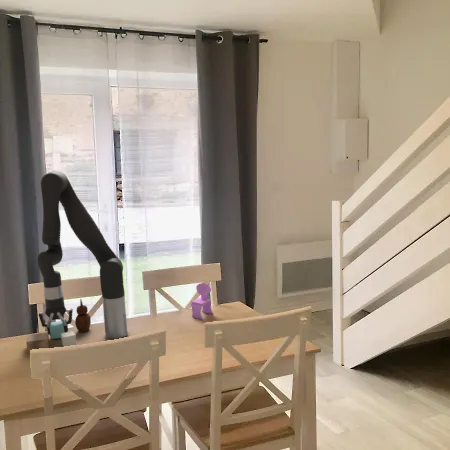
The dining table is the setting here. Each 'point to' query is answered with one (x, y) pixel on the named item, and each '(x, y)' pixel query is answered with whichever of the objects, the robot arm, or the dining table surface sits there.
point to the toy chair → (201, 301)
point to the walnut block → (37, 341)
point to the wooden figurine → (82, 318)
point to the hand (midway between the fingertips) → (58, 334)
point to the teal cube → (56, 329)
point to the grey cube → (68, 338)
